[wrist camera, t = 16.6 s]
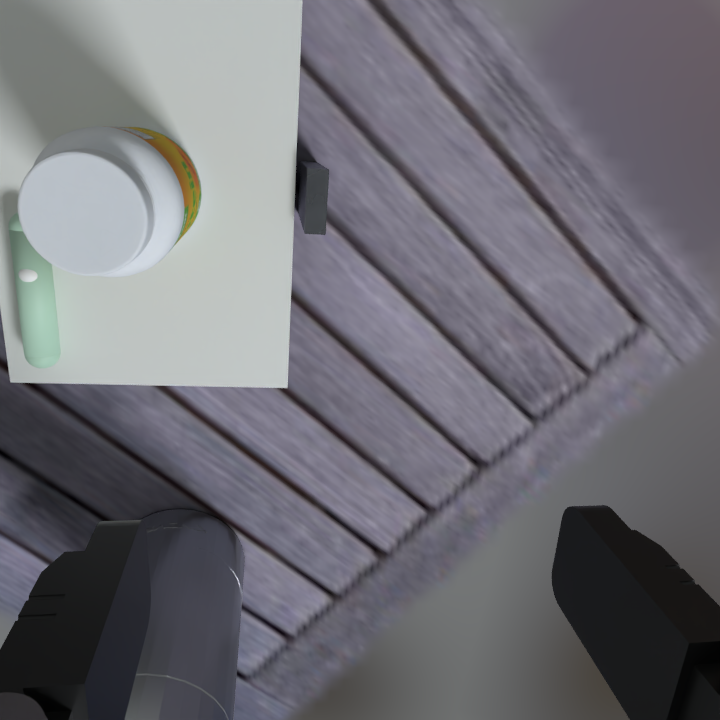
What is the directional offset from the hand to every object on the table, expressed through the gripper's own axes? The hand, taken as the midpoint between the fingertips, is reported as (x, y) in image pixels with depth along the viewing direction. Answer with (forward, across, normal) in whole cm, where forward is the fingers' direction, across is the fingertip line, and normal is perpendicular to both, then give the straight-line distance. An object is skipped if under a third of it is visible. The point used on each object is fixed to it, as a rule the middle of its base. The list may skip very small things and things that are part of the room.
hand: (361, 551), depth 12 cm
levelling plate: (+22, +8, -5) cm, 23 cm away
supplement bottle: (+21, +8, -5) cm, 23 cm away
